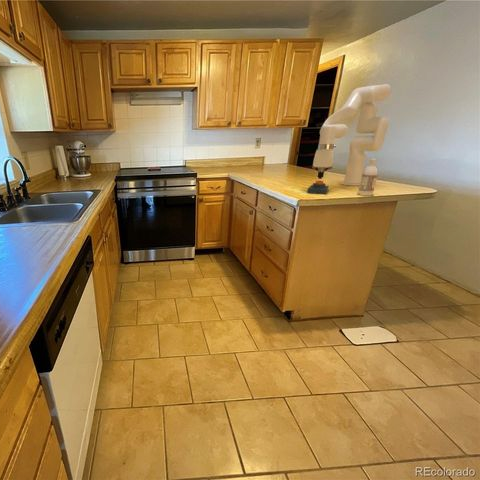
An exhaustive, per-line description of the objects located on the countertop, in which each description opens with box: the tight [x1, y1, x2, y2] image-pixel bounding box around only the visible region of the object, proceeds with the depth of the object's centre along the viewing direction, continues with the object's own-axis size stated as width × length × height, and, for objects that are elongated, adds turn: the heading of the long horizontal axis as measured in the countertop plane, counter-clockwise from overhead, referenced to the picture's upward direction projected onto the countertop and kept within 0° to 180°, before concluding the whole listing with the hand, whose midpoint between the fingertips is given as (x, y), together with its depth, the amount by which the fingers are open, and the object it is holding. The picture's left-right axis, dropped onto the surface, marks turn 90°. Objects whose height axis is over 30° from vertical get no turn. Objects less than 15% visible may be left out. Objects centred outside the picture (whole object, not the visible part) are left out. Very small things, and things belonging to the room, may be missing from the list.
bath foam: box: [357, 158, 379, 196], centre depth 151 cm, size 7×7×20 cm
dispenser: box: [307, 182, 330, 195], centre depth 166 cm, size 13×10×5 cm
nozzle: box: [315, 180, 324, 184], centre depth 165 cm, size 4×4×2 cm
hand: (320, 178), depth 164 cm, fingers closed
